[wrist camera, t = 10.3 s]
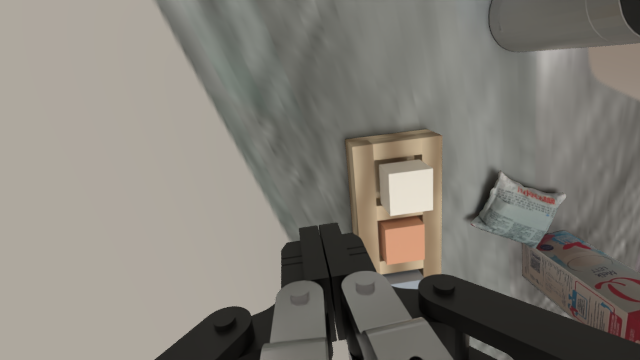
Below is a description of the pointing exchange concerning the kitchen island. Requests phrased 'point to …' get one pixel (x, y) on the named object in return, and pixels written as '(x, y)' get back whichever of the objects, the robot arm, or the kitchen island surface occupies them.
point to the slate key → (405, 279)
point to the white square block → (406, 187)
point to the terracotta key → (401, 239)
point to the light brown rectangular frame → (367, 200)
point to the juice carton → (585, 283)
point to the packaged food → (518, 211)
